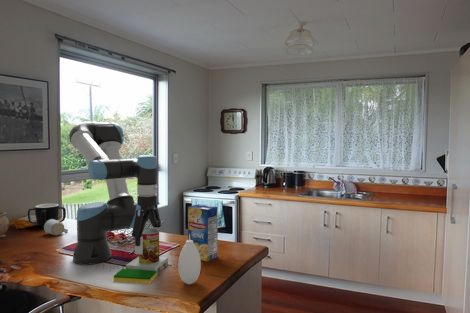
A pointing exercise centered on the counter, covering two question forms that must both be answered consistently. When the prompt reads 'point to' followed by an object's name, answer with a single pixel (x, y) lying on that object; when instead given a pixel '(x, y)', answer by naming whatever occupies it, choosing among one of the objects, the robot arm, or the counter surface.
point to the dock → (151, 267)
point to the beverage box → (204, 230)
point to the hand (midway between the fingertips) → (147, 248)
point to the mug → (46, 213)
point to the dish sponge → (135, 276)
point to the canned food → (150, 247)
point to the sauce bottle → (189, 262)
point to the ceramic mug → (54, 227)
